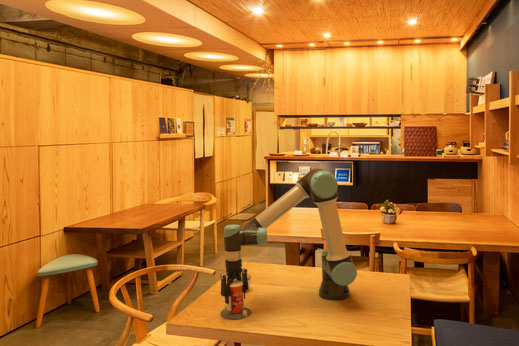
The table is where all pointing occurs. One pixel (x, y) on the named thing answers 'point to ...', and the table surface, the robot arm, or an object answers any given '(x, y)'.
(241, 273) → the lidded jar
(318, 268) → the table surface
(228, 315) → the pad
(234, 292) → the paper cup
